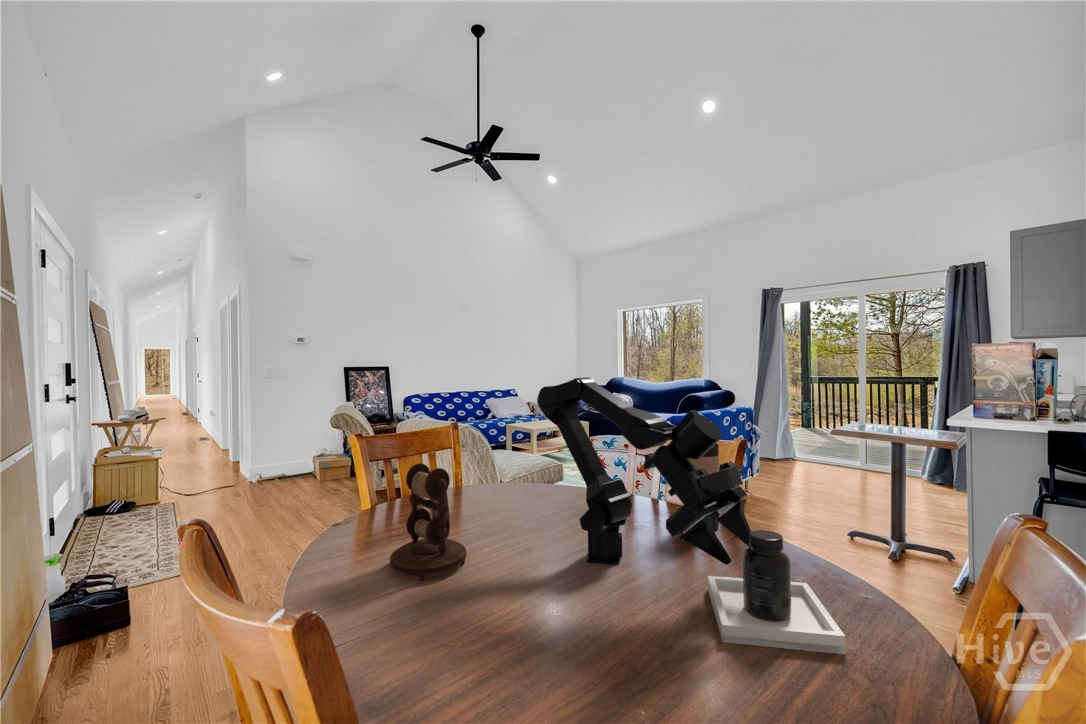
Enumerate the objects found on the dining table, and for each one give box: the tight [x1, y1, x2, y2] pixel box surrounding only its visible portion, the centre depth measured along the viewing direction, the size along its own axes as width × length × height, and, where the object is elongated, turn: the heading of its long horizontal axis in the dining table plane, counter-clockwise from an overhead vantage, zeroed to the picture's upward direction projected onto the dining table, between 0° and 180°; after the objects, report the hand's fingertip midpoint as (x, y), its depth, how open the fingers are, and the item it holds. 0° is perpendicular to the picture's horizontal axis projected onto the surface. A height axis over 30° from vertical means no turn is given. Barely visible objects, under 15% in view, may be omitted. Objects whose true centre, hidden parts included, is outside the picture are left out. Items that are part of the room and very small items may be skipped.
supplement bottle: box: [742, 529, 792, 621], centre depth 76 cm, size 7×7×12 cm
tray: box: [707, 575, 846, 655], centre depth 76 cm, size 16×16×2 cm
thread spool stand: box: [389, 463, 467, 582], centre depth 97 cm, size 15×15×20 cm
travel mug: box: [690, 442, 720, 532], centre depth 117 cm, size 8×8×20 cm
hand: (742, 554), depth 79 cm, fingers open, 9 cm apart
